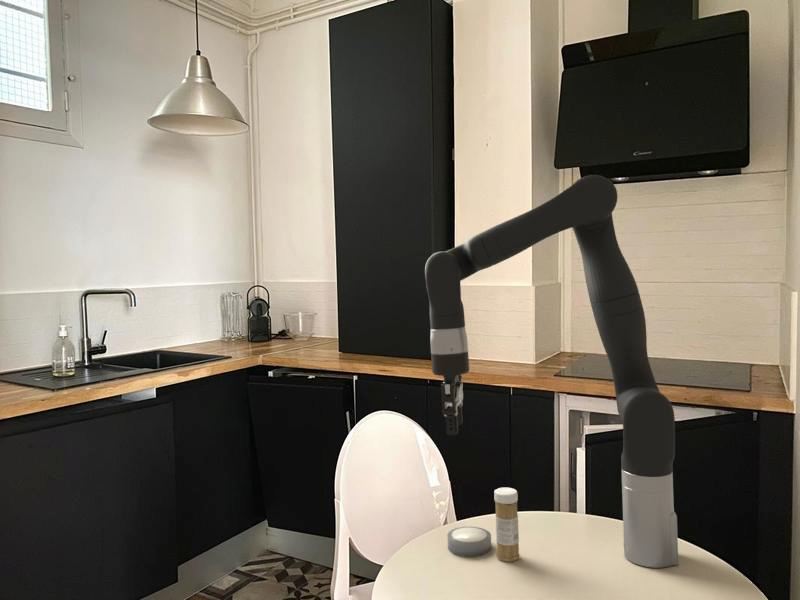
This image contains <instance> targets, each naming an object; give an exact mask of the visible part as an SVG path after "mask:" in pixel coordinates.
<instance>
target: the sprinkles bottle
mask: <svg viewBox="0 0 800 600" xmlns="http://www.w3.org/2000/svg"><path fill="white" fill-rule="evenodd" d="M493 493H494V495H493V496H494V498H493V500H494V503H495V533H496V534H495V536H496V551H497V552H496V557H497V559H499V560H500V561H502V562H508V563H509V562H515V561H517V560H519V559H520V550H519V549H520V547H519V545H520V544H519V540H520V536H519V532H520V531H519V516H518V500H519V499H518V497H519V495H518V491H517V490H516V489H515V488H512V487H499V488H497V489H494V492H493Z"/></svg>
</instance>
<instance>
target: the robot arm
mask: <svg viewBox="0 0 800 600" xmlns="http://www.w3.org/2000/svg"><path fill="white" fill-rule="evenodd" d="M617 202H618V190H617V187H616V186H615V184H614V183H613V182H612V181H611V180H610V179H608V178H607V177H606V176H605V177H604V176H602V175H598V174H590V175H589V174H588V175H585V176H583V177H581V178H579V179H577V180H576V181H575V182H573V184H572V185H571V186H568V187H567V188H566V189H565V190H563V191H562V192H560V193H559V194H557V195H556V196H554V197H553V198H551V199H549V200H548V201H546V202H544V203H542V204H541V205H539V206H538V205H537V206H536V207H534V208H533V209H530V210H528V211H526V212H525V213H522V214H519V215H517V216H516V217H515V216H514V217H513V218H510V219H508V220H505V221H504V222H501V223H499V224H496V225H494V226H493V227H490V228H489V229H486V230H484V231H482V232H479V233H478V234H476V235H474V236H472V237H470V238H469V239H468V240H466V242H464V243H462V244H459V245H457V246H454V247H452V248H451V249H448V250H446V251H437V252H434V253H432V254H431V255H430V257H428V259H427V260H426V263H425V267H424V275H425V276H424V278H425V286H426V291H427V297H428V302H429V324H430V339H429V340H430V341H429V342H430V343H429V344H430V356H431V371H432V374H433V375H435V376H438V377H439V376H442V377H443V382H442V383H441V384H440V390H441V405H442V406H441V408H442V410H441V413H442V415H443V416H444V417H445V431H446V435H448V436H457V435H458V434H459V428H458V427H459V426H461V425H463V404H464V403H463V401H464V391H463V387H464V386H463V385H464V384H463V381H462V375H465V374H467V373H469V372H470V360H469V357H470V355H469V346H468V345H469V343H468V335H467V331H466V319H465V309H464V303H463V301H462V290H461V288H462V287H461V282H462V281H464V280H465V279H467V278H468V277H470V276H473V275H474V274H476V273H478V272H479V271H483V270H485V269H488V268H491V267H493V266H495V265H498V264H499V263H501V262H504V261H506V260H508V259H511V258H512V257H514V256H517V255H518V254H520V253H523V252H524V251H525V250H527V249H529V248H531V247H533V246H534V245H537V244H538V243H540V242H541V241H542V242H543V240H545V239H547V238H550V237H552V236H554V235H555V234H558V233H560V232H563V231H565V230H568V229H571V228H572V230H573V233H574V236H575V239H576V242H577V244H578V248H579V251H580V255H581V259H582V265H583V271H584V278H585V283H586V287H587V288H586V289H587V292H588V297H589V298H588V299H589V303H590V306H591V311H592V314H593V317H594V321H595V325H596V328H597V331H598V333H599V338H600V340H601V342H602V346H603V348H604V351H605V353H606V356H607V359H608V362H609V365H610V368H611V373H612V379H613V385H614V392H615V400H616V407H617V408H616V409H617V413H618V416H619V418H620V419H621V421H622V438H623V439H622V442H623V448H622V454H621V456H620V458H621V459H620V460H621V461H620V462H621V463H620V464H621V465H620V466H621V495H622V496H621V497H622V523H623V529H622V530H623V551H624V552H623V554H624V557H625V559H626V560H628V561H629V562H630V563H633V564H635V565H639V566H642V567H647V568H656V569H657V568H658V569H659V568H660V569H661V568H668V567H671V566H679V547H678V546H679V545H678V542H679V541H678V516H677V514H676V512H675V507H674V504H675V503H674V477H673V476H674V473H673V472H674V471H673V469H674V467H673V463H674V460H675V457H676V421H675V411H674V407H673V404H672V403H671V401H670V400H669V399H668V397H666V396H665V395H664V394H663V393H661V391H660V390H659V389H660V388H659V386H658V385H657V382H656V379H655V377H654V373H653V370H652V368H651V364H650V361H649V354H648V345H647V344H648V343H647V338H648V337H647V321H646V315H645V310H644V306H643V303H642V298H641V295H640V291H639V288H638V285H637V282H636V279H635V277H634V275H633V274H634V273H632V271H631V268H630V266H629V264H628V262H627V260H626V258H625V257H624V255H623V253H622V250H621V247H620V245H619V242H618V240H617V235H616V231H615V230H616V229H615V225H614V220H613V212H614V210H615V209H616V206H617ZM448 407H449V408H448Z"/></svg>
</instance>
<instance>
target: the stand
mask: <svg viewBox="0 0 800 600" xmlns="http://www.w3.org/2000/svg"><path fill="white" fill-rule="evenodd" d="M446 536H447V549H448V551H449V552H450V553H451V554H454V555H456V556H461V557H467V558H470V557H471V558H473V557H479V556H480V557H481V556H484V555H486V554H488V553H489V552H491V550H492V534H491V532H490V531H488V530H487V529H484V528H482V527H477V526H460V527H455V528H453V529H451V530H450V531H448V533H447V535H446Z"/></svg>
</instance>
